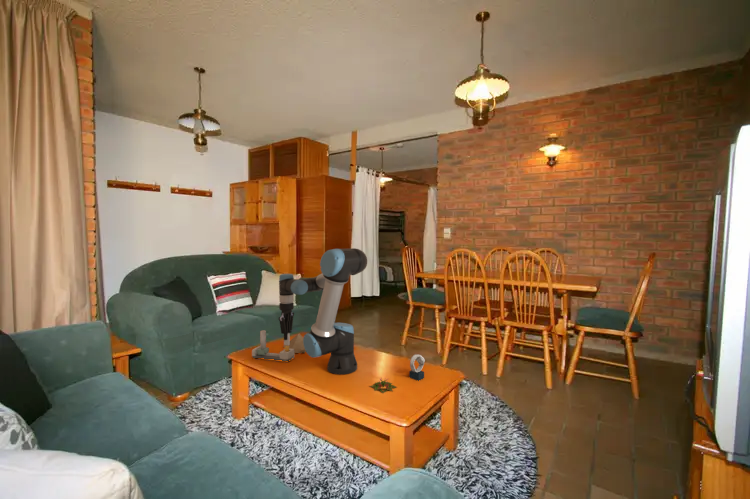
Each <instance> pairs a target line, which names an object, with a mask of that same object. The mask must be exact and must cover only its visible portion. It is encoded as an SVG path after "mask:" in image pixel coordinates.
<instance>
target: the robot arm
mask: <svg viewBox="0 0 750 499" xmlns="http://www.w3.org/2000/svg"><path fill="white" fill-rule="evenodd" d="M319 266H320V271H321V273H320V274H318V275H317V276H314V277H309V278H295V277H294V274H293V273H282V274H279V277H278V278H279V279H278V285H279V286H278V289H279V292H278V293H279V295H278V298H279V301H278V302H279V304H278V305H279V307H278V308H279V309H278V310H280V311H281V314H280V315H281V316H279V317H278V321H279V326H280V332H281V333H280V334H283V346H285V345H287V346H289V345H290V340H291V337H290V336H291V333H292V332H293V325H294V317H295V316H294V315H295V312H293V311H292V310H294V309H295V308H294V307H295V306H294V305H295V303H294V302H295V301H294V297H295V296H294V295H296V296H298V295H300V296H302V295H304V294H306V293H312V292H321V291H322V293H321V297H320V303H319V306H318V312H317V316H316V318H315V323H313V324H312V325H311V327H310V330H309V332H307V333H305V334H304V335H303V344H304V348H305V350H306V354H307V355H308V356H309V357H310V358H319V357H322V356H325V355H328V354H330V355H329V360H328V363H327V371H328V372H329V373H331V374H333V375H348V374H352V373H355V372H356V371H357V370H358V361H357V359H356V355H355V350H354V349H355V329H354V326H353V324H350V323H345V322H336V317H337V314H338V309H339V305H340V302H341V298H342V294H343V290H344V285H345V284H347V283H348V282H349V280H350V276H355V275H358V274H359V273H362V272H364V270H366V268H367V266H368V257H367V255H366V253H365V252H364V251H363V250H362V249H359V248H354V247H353V248H333V249H328V250H326V251H325V252H324V253H323V254H322V256H321V259H320V261H319Z"/></svg>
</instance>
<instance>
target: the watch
mask: <svg viewBox="0 0 750 499" xmlns="http://www.w3.org/2000/svg"><path fill="white" fill-rule="evenodd" d="M415 361H416V362H417V363H418V367H417V368H416V365H415ZM425 361H426V360H425V358H424V357H423V356H422V355H421V354H417V353H415V354H413V355H412V356H411V358H410V361H409V367H410V370H409V374H408V375H409V377H410V378H409V379H413V380H415V381H417V380H418V382H420V381H421V379H422V380H424V379H425V371H423V370H422V369H423V367H424V365H425ZM423 378H424V379H423ZM419 380H420V381H419Z"/></svg>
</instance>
